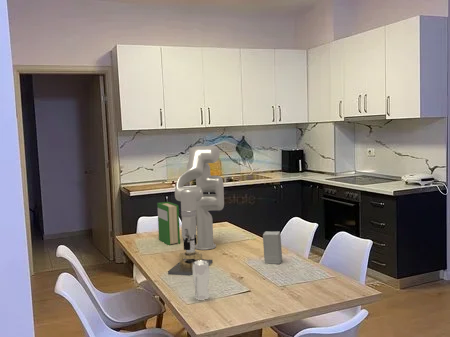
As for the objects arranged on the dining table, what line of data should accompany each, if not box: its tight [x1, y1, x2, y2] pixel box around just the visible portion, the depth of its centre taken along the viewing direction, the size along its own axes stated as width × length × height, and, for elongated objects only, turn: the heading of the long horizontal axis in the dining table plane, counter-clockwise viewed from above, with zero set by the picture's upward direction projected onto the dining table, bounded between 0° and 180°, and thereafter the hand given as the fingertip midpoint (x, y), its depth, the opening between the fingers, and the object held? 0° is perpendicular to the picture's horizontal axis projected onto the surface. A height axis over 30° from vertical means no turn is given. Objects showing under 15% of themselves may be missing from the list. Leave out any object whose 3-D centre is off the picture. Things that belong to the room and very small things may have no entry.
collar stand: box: [167, 251, 213, 276], centre depth 227 cm, size 22×16×8 cm
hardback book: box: [156, 201, 181, 246], centre depth 283 cm, size 18×7×24 cm, turn 28°
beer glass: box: [192, 260, 210, 301], centre depth 186 cm, size 7×7×15 cm
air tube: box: [185, 234, 196, 263], centre depth 227 cm, size 5×5×16 cm
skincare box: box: [262, 231, 283, 265], centre depth 232 cm, size 8×7×16 cm
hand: (190, 247), depth 227 cm, fingers open, 9 cm apart
